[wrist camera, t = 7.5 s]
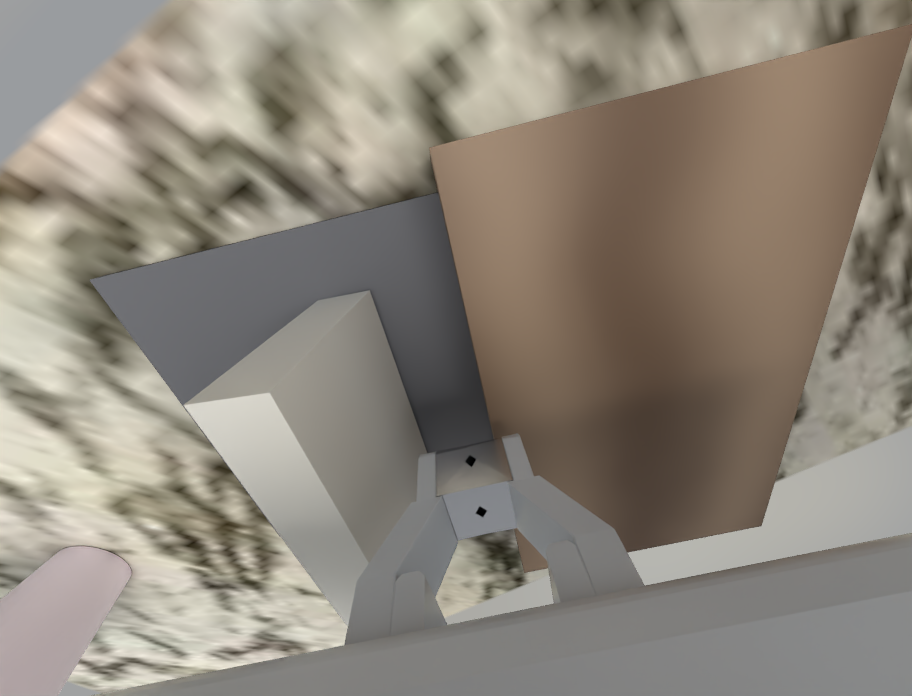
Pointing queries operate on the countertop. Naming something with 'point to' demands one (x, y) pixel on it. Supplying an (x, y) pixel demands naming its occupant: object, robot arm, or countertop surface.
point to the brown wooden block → (665, 279)
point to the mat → (297, 288)
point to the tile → (320, 438)
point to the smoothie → (56, 618)
